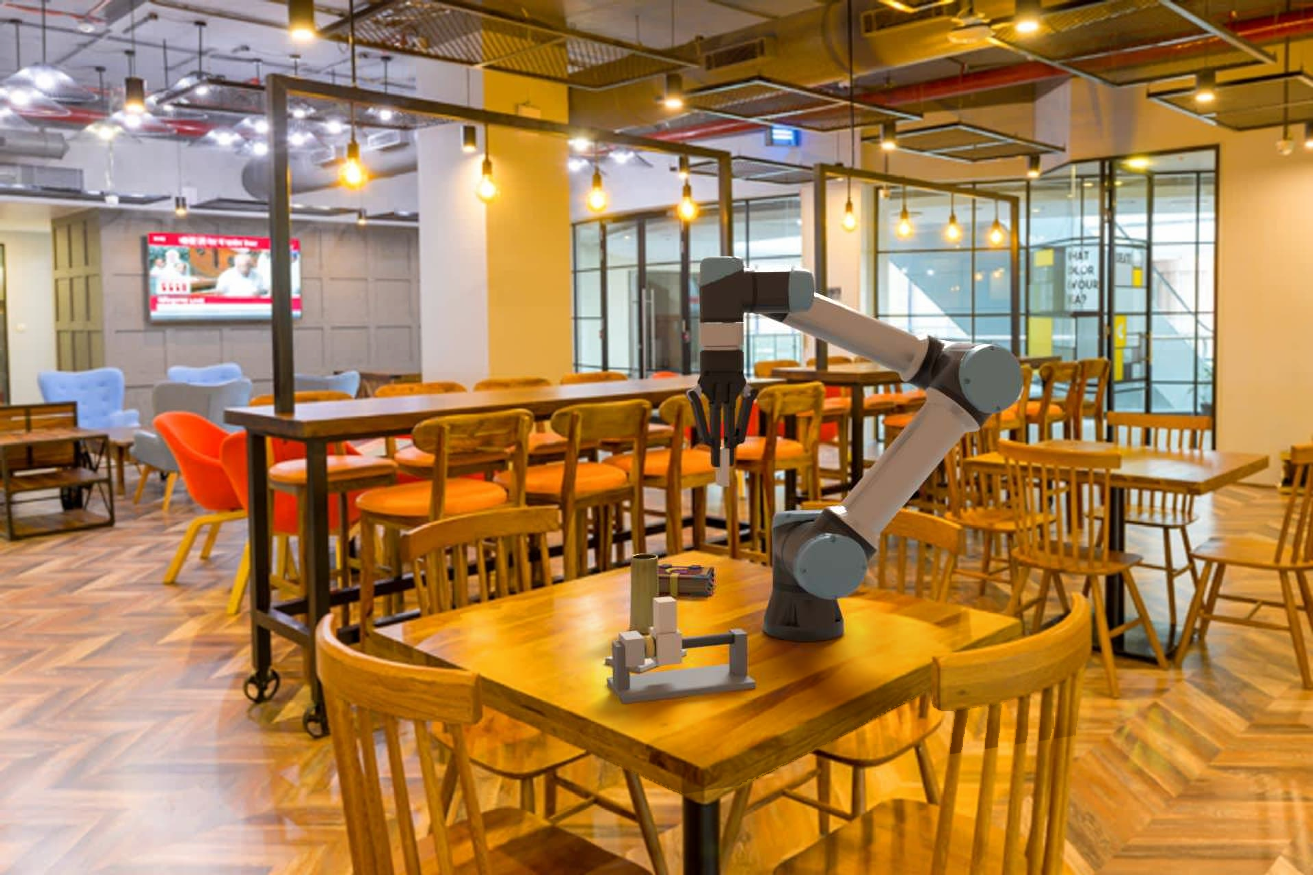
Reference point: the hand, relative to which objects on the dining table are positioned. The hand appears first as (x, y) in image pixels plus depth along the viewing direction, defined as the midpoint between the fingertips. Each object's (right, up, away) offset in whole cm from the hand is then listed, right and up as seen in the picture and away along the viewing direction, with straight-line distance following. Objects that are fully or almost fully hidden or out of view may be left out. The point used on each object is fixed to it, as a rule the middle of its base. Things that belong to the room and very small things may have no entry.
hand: (722, 485), depth 190 cm
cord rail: (-7, -32, -12) cm, 35 cm away
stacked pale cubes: (-10, -28, -13) cm, 32 cm away
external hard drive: (-13, -31, +3) cm, 34 cm away
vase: (-14, -29, +21) cm, 38 cm away
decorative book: (-6, -26, +51) cm, 58 cm away
